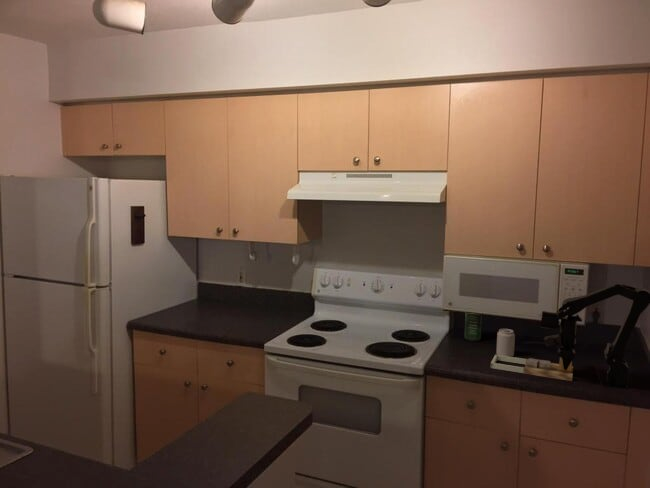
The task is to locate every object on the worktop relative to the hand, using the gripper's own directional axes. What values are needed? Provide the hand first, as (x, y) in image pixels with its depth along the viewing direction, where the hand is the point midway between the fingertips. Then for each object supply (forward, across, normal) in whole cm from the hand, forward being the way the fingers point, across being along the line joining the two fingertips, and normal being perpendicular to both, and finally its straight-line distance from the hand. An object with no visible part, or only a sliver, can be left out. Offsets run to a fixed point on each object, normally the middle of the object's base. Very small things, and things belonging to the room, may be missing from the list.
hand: (565, 367), depth 212 cm
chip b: (+3, 0, -12) cm, 13 cm away
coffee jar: (+4, -34, -43) cm, 55 cm away
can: (+4, -15, -25) cm, 30 cm away
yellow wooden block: (+2, 0, 0) cm, 3 cm away
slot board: (+4, 0, -6) cm, 7 cm away
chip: (+3, 0, -8) cm, 8 cm away
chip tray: (+4, 0, -22) cm, 22 cm away
